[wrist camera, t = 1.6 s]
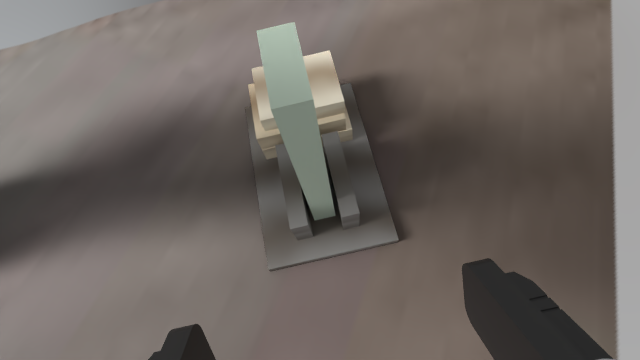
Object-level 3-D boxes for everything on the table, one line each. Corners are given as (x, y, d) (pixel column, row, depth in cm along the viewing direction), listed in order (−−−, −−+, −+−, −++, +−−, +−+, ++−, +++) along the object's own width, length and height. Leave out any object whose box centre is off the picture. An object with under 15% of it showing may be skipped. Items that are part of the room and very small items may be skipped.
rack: (397, 242, 32) (407, 221, 25) (270, 271, 32) (249, 258, 26) (350, 88, 39) (349, 43, 33) (247, 112, 39) (226, 72, 33)
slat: (335, 215, 32) (313, 99, 16) (314, 220, 32) (270, 109, 16) (324, 168, 34) (294, 21, 18) (304, 173, 34) (256, 30, 18)
